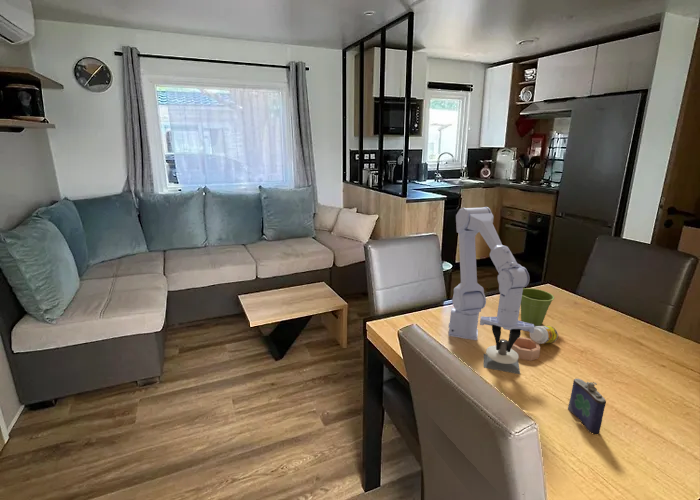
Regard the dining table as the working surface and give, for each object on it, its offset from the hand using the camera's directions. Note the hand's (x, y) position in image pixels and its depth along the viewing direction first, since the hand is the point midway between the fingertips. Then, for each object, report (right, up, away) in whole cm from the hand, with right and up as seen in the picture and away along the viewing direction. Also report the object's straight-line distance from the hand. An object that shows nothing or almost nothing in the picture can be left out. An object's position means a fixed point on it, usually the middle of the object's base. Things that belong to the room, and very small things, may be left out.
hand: (502, 349), depth 114 cm
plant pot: (+22, +3, +29) cm, 36 cm away
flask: (+11, -12, -21) cm, 27 cm away
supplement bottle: (+22, +1, +14) cm, 26 cm away
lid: (0, -2, +1) cm, 2 cm away
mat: (0, -5, +1) cm, 5 cm away
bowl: (+10, -3, +7) cm, 12 cm away
